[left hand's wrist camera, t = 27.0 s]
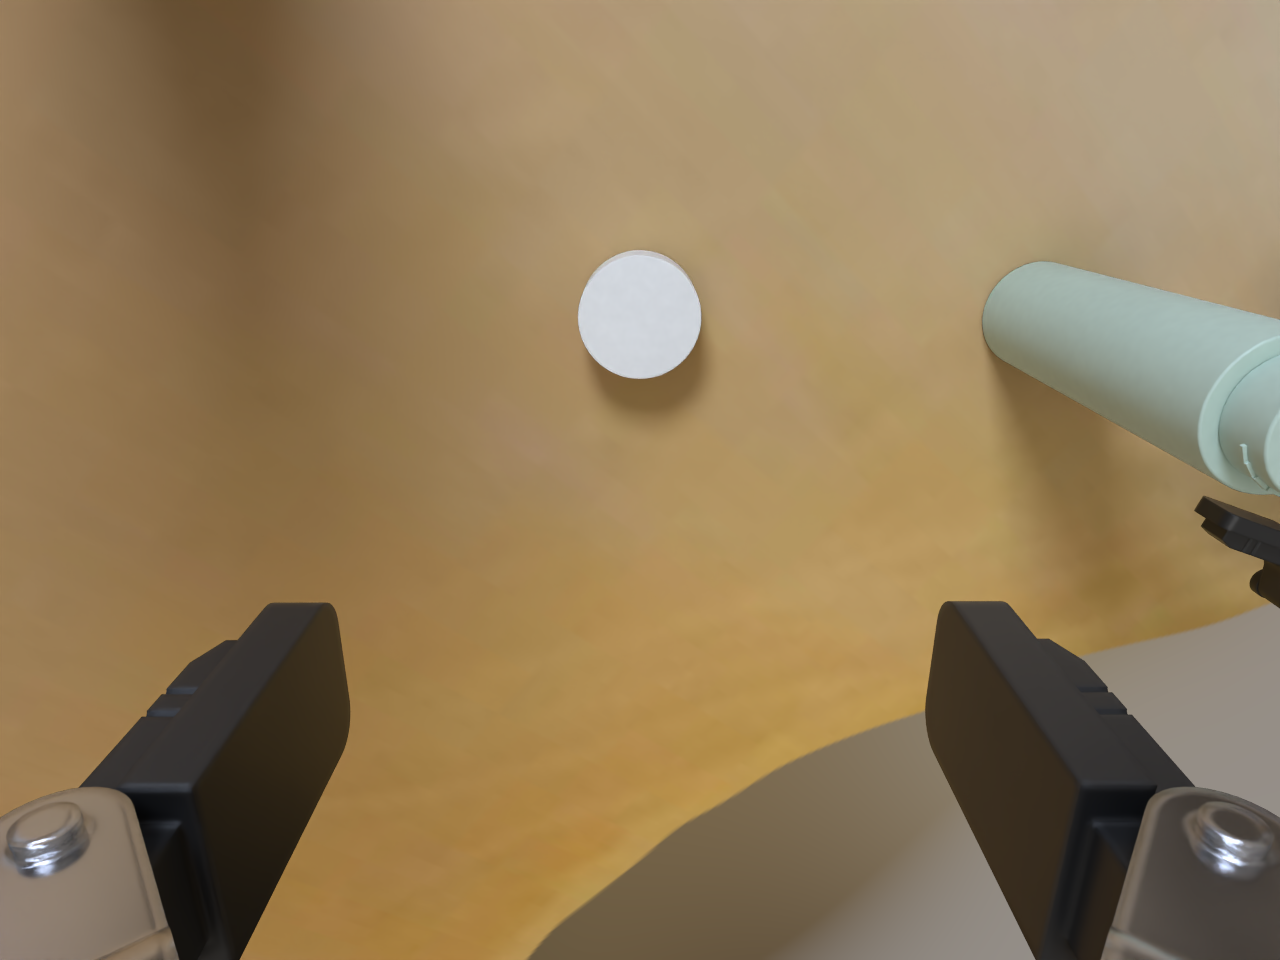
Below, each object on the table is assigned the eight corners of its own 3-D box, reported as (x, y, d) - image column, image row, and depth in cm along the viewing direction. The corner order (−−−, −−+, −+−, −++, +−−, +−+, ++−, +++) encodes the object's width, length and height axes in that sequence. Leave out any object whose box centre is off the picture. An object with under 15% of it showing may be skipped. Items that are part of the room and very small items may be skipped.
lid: (568, 264, 37) (564, 270, 35) (686, 238, 37) (688, 242, 35) (596, 378, 39) (593, 390, 37) (707, 354, 39) (711, 365, 37)
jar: (1068, 373, 39) (1386, 534, 22) (969, 358, 39) (1216, 510, 22) (1102, 269, 37) (1474, 360, 21) (999, 253, 37) (1291, 332, 20)
